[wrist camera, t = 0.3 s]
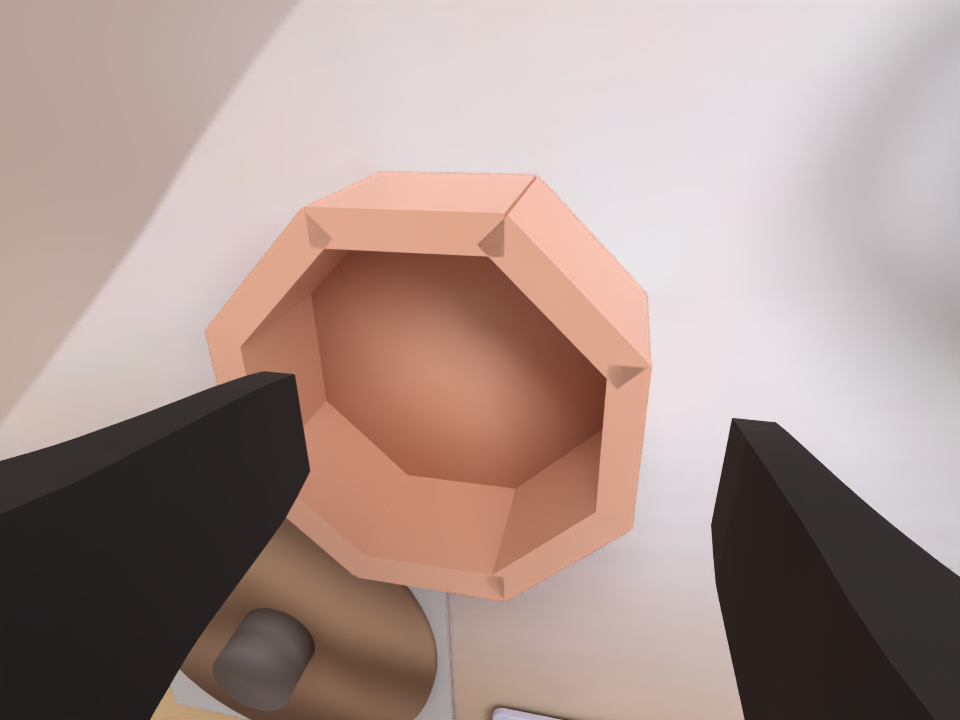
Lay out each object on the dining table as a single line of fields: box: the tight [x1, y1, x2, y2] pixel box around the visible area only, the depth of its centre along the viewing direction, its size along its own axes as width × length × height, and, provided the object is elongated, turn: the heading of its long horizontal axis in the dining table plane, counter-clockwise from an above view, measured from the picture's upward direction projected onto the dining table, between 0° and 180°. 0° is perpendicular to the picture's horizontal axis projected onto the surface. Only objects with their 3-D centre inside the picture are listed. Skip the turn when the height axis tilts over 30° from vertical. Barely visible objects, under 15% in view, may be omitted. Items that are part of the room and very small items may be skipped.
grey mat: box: [170, 586, 454, 720], centre depth 29 cm, size 16×16×1 cm
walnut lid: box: [180, 518, 437, 720], centre depth 28 cm, size 15×15×3 cm
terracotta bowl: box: [205, 172, 652, 602], centre depth 19 cm, size 12×12×5 cm
